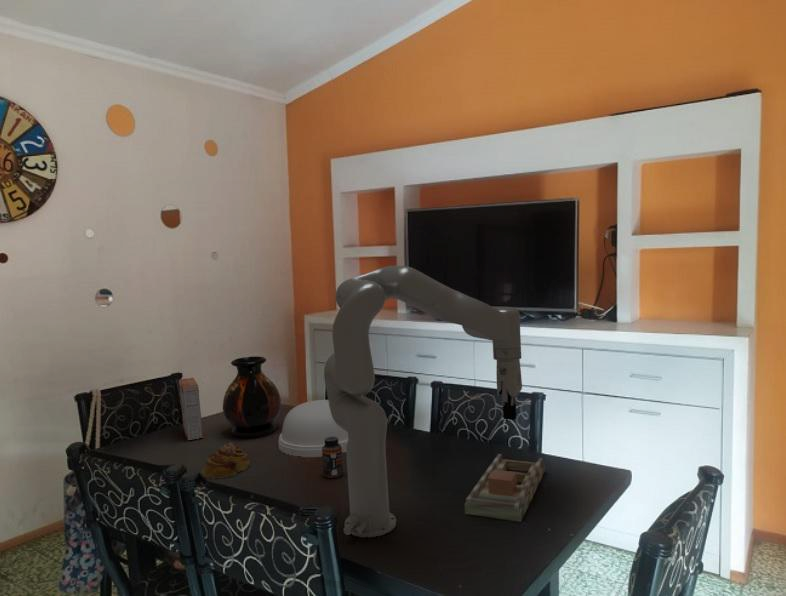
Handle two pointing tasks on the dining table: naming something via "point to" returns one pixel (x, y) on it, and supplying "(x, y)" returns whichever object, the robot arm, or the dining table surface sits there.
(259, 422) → the dark brown vase
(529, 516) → the dining table surface
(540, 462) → the board
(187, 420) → the cracker box
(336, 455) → the supplement bottle
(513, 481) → the terracotta block
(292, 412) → the dome cover
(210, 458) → the pastry
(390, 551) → the dining table surface
